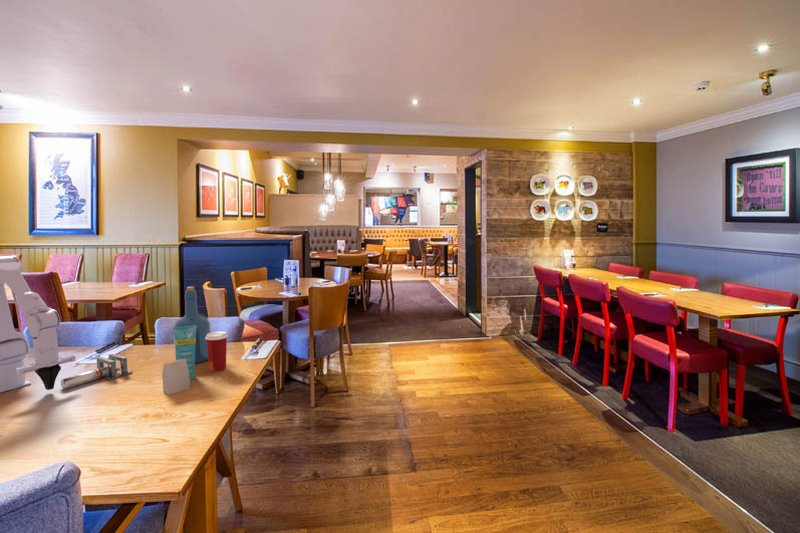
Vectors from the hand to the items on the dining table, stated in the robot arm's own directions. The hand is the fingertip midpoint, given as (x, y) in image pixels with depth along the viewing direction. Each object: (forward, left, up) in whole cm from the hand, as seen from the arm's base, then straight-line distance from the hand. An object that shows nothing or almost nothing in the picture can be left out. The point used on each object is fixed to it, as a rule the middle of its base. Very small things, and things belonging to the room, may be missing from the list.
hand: (49, 388), depth 127 cm
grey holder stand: (+16, 0, -1) cm, 17 cm away
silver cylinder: (+10, 0, -1) cm, 11 cm away
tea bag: (+20, -34, -2) cm, 40 cm away
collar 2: (+20, 0, -1) cm, 21 cm away
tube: (+28, -28, -2) cm, 40 cm away
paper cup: (+39, -30, -2) cm, 50 cm away
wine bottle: (+42, -12, -2) cm, 44 cm away
